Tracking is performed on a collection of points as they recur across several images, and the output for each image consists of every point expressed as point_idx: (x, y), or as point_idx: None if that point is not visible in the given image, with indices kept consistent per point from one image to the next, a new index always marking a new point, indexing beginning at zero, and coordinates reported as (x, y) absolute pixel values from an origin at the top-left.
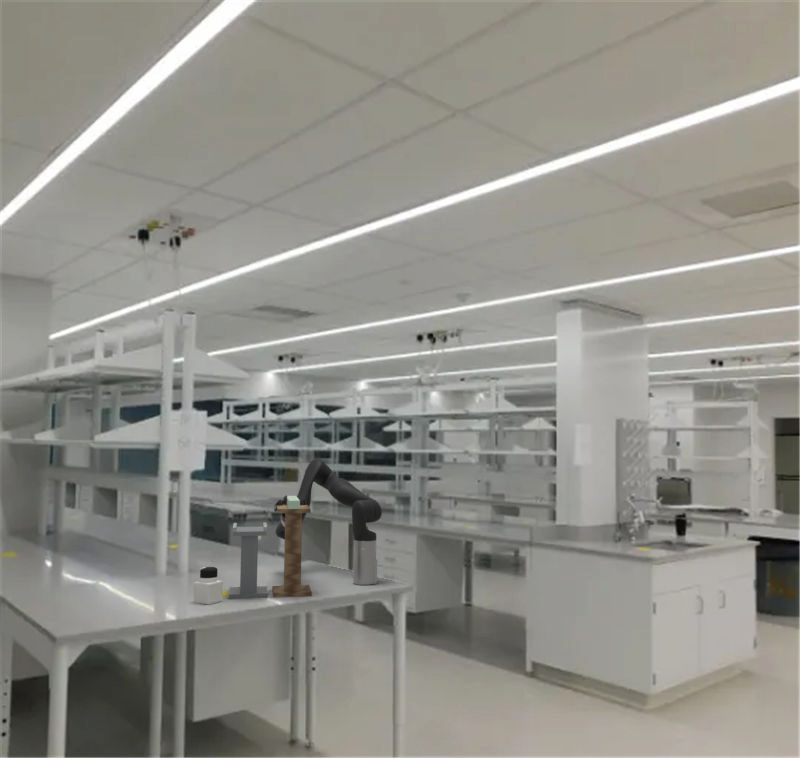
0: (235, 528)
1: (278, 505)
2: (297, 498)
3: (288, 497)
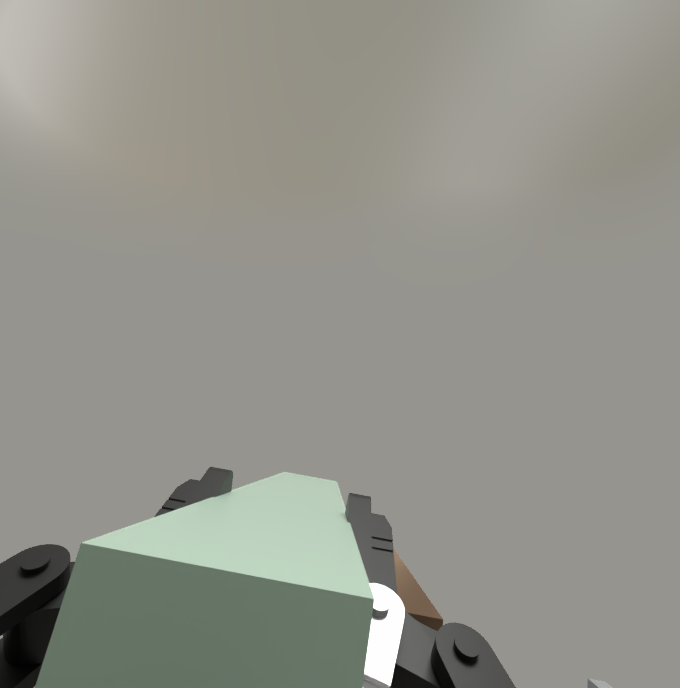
0: (590, 684)
1: (423, 615)
2: (265, 481)
3: (330, 507)
